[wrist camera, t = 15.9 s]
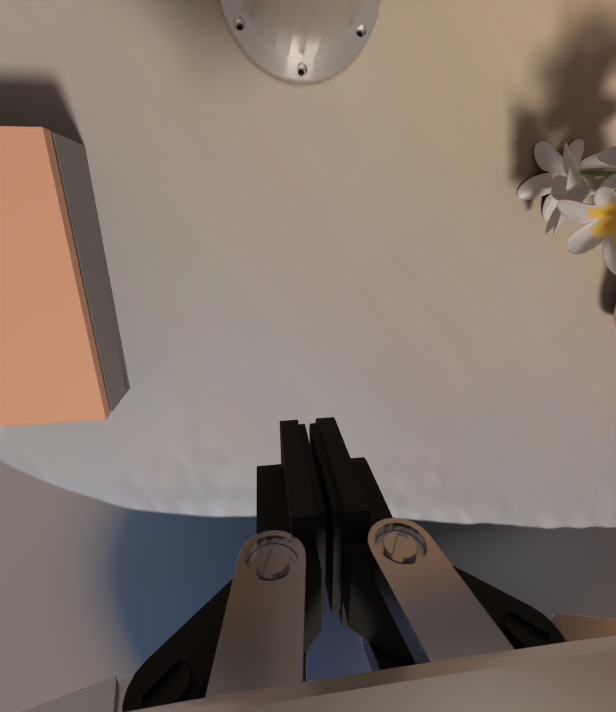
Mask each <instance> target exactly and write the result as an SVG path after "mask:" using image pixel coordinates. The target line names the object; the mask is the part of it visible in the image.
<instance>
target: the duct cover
mask: <svg viewBox="0 0 616 712" xmlns="http://www.w3.org/2000/svg"><path fill="white" fill-rule="evenodd" d="M109 415H110V410H109V406H108V401H107V396H106V391H105V387H104V382H103V377H102V372H101V368H100V363H99V358H98V354H97V349H96V344H95V339H94V335H93V330H92V325H91V320H90V316H89V311H88V306H87V302H86V297H85V292H84V287H83V283H82V278H81V273H80V268H79V264H78V259H77V254H76V250H75V245H74V240H73V235H72V231H71V226H70V221H69V216H68V212H67V207H66V202H65V198H64V193H63V188H62V183H61V179H60V174H59V169H58V165H57V160H56V155H55V150H54V146H53V141H52V136H51V131H50V130H48V129H46V128H43V127H18V126H0V426H8V425H24V424H40V423H55V422H71V421H87V420H103V419H107V417H108V416H109Z"/></svg>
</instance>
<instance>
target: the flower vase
mask: <svg viewBox="0 0 616 712" xmlns="http://www.w3.org/2000/svg"><path fill="white" fill-rule="evenodd" d="M583 152H584V141H583V140H582V139H576V140H574V141H573V142H572V143H571V144H570V145H569V146H568V145H567V143H565V145H564V151H563V156H562V155H561V154H559V152H558V151H557V150H556V149H555V148H554V147H553V146H552V145H551V144H549V143H548V142H545V141H539V142H538V143H537V144H536V145H535V147H534V157H535V160H536V162H537V164H538V165H539V167H540V168H541V169H542V170H544V171H547V172H551V173H544V174H540V175H537V176H534V177H532V178H530V179H528V180H527V181H525V182H524V183H523V184H522V185H521V186H520V187H519V189H518V191H517V196H518V197H519V198H520V199H523V200H530V199H535V198H538V197H541V196H544V195H547V194H550V193H551V194H550V195H548V196H547V198H546V199H545V201H544V204H543V209H542V214H543V218H544V220H546V221H548V224H547V228H546V234H548V233H549V232H550V231H551V230H552V229H553V228H554V227H555V229H554V233H553V234H555V233H556V232H557V230H558V229H559V227H560V226H561V225H562V223H563V222H564V221H565V220H566V218H568V219H570V220H572V221H575V222H578V223H585V222H589V223H588V224H586V225H584V226H582V227H581V228H579V229H578V230H576V231H575V232H574V233H573V234H572V235H570V237H569V238H568V240H567V241H566V249H567V250H568V252H569V253H571V254H583V253H587V252H589V251H591V250H593V249H595V248H596V247H598V246H599V245H600V244H602V243H603V242H604V241H605V240H606V242H605V244H604V246H603V249H602V254H603V259H604V261H605V263H606V265H607V267H608V268H609V270H611V272H613V273H614V274H616V146H614V147H610V148H607V149H604V150H603V151H601V152H598V153H596V154H593V155H591V156H589V157H588V158H586V159H584V160H583V161H581V158H582V155H583ZM580 161H581V162H580ZM580 168H584V169H586V168H604V169H603V170H601V171H581V172H580V171H579V170H580ZM586 176H595V179H600V178H603V177H608V178H607V179H605V180H604V181H603V182H602V183H601V185H600V187H599V189H590V188H589V187H588V182H587V180H586V178H585V177H586ZM589 195H594V203H595V204H587V203H582V202H583V200H584V199H585V198H586V197H588V196H589ZM591 221H592V222H591ZM613 318H614V322H615V326H616V304H615V309H614V314H613Z"/></svg>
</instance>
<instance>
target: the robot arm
mask: <svg viewBox="0 0 616 712" xmlns="http://www.w3.org/2000/svg"><path fill="white" fill-rule="evenodd" d="M220 5H221V9H222V13H223V16H224V18H225V21H226V24H227V26H228V29H229V31H230V33H231V35H232V36H233V38H234V40H235V42H236V43H237V45H238V47H239V48H240V49H241V51H242V52H243V53H244V54H245V55H246V57H247V58H248V59H249V60H250V61H251V62H252V63H253V64H254V65H255V66H257V67H258V68H259V69H260V70H261V71H262V72H264V73H266V74H268V75H269V76H271V77H273V78H275V79H277V80H280V81H283V82H286V83H289V84H296V85H310V84H318V83H321V82H323V81H326V80H329V79H331V78H333V77H335V76H336V75H338V74H339V73H341V72H342V71H344V70H345V69H346V68H347V67H348V66H349V65H350V64H351V63H352V62H353V61H354V60H355V59H356V57H357V56H358V54H359V53H360V52H361V50H362V49H363V47H364V46H365V44H366V42H367V40H368V39H369V37H370V35H371V32H372V29H373V27H374V24H375V21H376V18H377V15H378V10H379V5H380V0H220ZM238 26H242V27H243V30H240V31H239V30H237V27H238ZM357 32H359V33H360V34H361V37H359V36H358V35H357V34H356V33H357ZM299 70H301V71H303V73H304V75H303V76H300V75H299V74H298V71H299ZM280 441H281V464H278V465H266V466H257V535H255V536H254V537H252V538H251V539H249V540H248V541H247V542H246V543H245V545H244V546H243V547H242V548H241V551H240V553H239V556H238V559H237V564H236V568H235V572H234V577H233V579H232V580H231V581H230V582H229V583H228V584H227V585H225V586H224V587H223V588H222V589H221V590H220V591H219V592H218V593H217V594H216V595H215V596H214V597H213V598H212V599H211V600H210V601H209V602H207V604H205V605H204V606H203V607H202V608H201V609H200V610H199V611H198V612H197V613H196V614H195V615H194V616H193V617H192V618H191V619H190V620H189V621H188V622H186V623H185V624H184V625H183V626H182V627H181V628H180V629H179V630H178V631H177V632H176V633H175V634H174V635H173V636H172V637H170V638H169V639H168V640H167V641H166V642H165V643H164V644H163V645H162V646H161V647H160V648H159V649H158V650H157V651H156V652H155V653H154V654H152V656H150V657H149V658H148V659H147V660H146V661H145V663H144V664H143V665H142V666H141V667H140V668H139V669H138V671H137V672H136V673H135V675H134V676H132V677H130V678H127V679H125V680H122V681H119V682H118V680H117V676H115V677H112V678H110V679H107V680H104V681H102V682H99V683H97V684H94V685H91V686H89V687H87V688H84V689H81V690H78V691H76V692H73V693H71V694H68V695H65V696H63V697H60V698H58V699H55V700H52V701H50V702H47V703H44V704H42V705H39V706H36V707H34V708H32V709H29V710H26V711H23V712H616V619H607V618H597V617H587V616H578V615H568V614H559V613H553V616H552V619H550V618H547V617H546V616H545V615H543V614H542V613H540V612H539V611H537V610H536V609H534V608H533V607H531V606H529V605H527V604H525V603H524V602H521V601H520V600H518V599H516V598H514V597H512V596H510V595H508V594H506V593H504V592H502V591H501V590H499V589H497V588H495V587H493V586H491V585H489V584H487V583H485V582H483V581H481V580H479V579H477V578H476V577H474V576H472V575H470V574H468V573H466V572H464V571H462V570H460V569H458V568H456V567H454V566H452V565H451V564H450V562H449V561H448V560H447V558H446V557H445V555H444V554H443V553H442V551H441V550H440V549H439V547H438V546H437V545H436V543H435V542H434V541H433V539H432V538H431V537H430V535H429V534H428V533H427V532H426V531H425V530H424V529H423V528H421V527H420V526H418V525H417V524H415V523H414V522H411V521H408V520H405V519H400V518H393V517H392V515H391V513H390V511H389V508H388V506H387V504H386V502H385V500H384V498H383V495H382V493H381V491H380V489H379V487H378V485H377V482H376V480H375V478H374V476H373V474H372V471H371V469H370V467H369V465H368V463H367V461H366V459H365V458H364V457H361V458H350V456H349V453H348V451H347V448H346V446H345V443H344V441H343V438H342V436H341V433H340V431H339V428H338V426H337V423H336V421H335V418H334V417H331V418H316V423H312V424H310V444H309V440H308V435H307V431H306V427H305V424H298V420H288V421H280ZM325 584H326V589H327V594H328V599H329V605H330V609H331V611H339V615H340V620H341V625H342V626H347V625H348V626H349V627H350V628H351V629H353V630H354V631H355V632H357V633H358V634H359V635H361V636H362V644H363V648H364V651H365V654H366V657H367V659H368V662H369V664H370V667H371V669H372V671H371V672H365V673H358V674H352V675H346V676H339V677H333V678H326V679H320V680H313V681H307V682H306V679H307V649H308V648H309V647H310V645H311V644H312V642H313V641H314V640H315V638H316V637H317V635H318V634H319V632H320V631H321V613H324V612H325Z"/></svg>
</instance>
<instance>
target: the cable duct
mask: <svg viewBox="0 0 616 712" xmlns="http://www.w3.org/2000/svg"><path fill="white" fill-rule="evenodd" d="M51 136H52V141H53V146H54V150H55V155H56V160H57V165H58V169H59V174H60V179H61V183H62V188H63V193H64V198H65V202H66V207H67V212H68V216H69V221H70V226H71V231H72V235H73V240H74V245H75V250H76V254H77V259H78V264H79V268H80V273H81V278H82V283H83V287H84V292H85V297H86V302H87V306H88V311H89V316H90V320H91V325H92V330H93V335H94V339H95V344H96V349H97V354H98V358H99V363H100V368H101V372H102V377H103V382H104V387H105V391H106V396H107V401H108V406H109V410H110V412H112V411H113V410H114V408H115V407H116V406H117V404H118V403H119V402H120V400H121V399H122V398H123V397H124V395H125V394H126V393H127V391H128V390H129V389H130V387H129V382H128V376H127V371H126V365H125V360H124V355H123V349H122V344H121V339H120V333H119V328H118V323H117V317H116V312H115V306H114V301H113V296H112V290H111V285H110V280H109V274H108V269H107V264H106V258H105V253H104V247H103V242H102V237H101V231H100V226H99V221H98V215H97V210H96V205H95V199H94V194H93V188H92V183H91V178H90V172H89V167H88V162H87V156H86V151H85V146H84V145H81V144H79V143H77V142H75V141H73V140H70V139H68V138H66V137H64V136H61V135H59V134H57V133H55V132H51Z"/></svg>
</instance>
